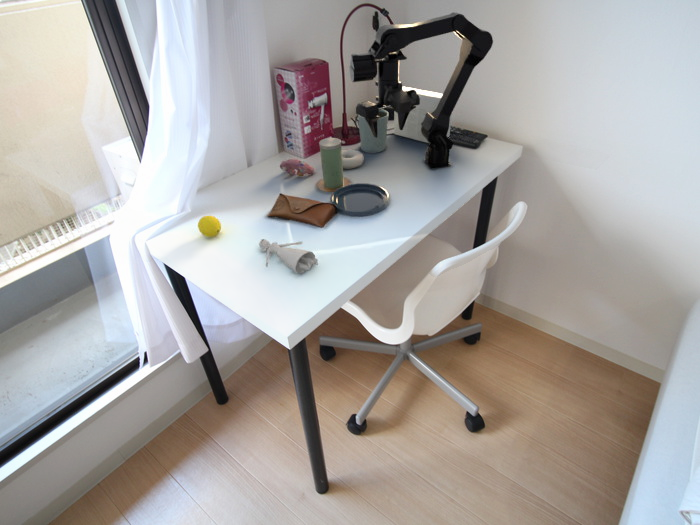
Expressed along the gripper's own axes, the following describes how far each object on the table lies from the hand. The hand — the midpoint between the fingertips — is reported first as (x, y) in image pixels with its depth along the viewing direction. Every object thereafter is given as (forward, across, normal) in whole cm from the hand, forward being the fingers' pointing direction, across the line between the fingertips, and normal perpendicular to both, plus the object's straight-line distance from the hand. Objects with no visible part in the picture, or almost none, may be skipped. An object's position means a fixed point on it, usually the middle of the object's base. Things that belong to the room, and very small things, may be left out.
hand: (388, 133), depth 128 cm
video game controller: (+12, -24, +15) cm, 31 cm away
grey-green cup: (+12, +6, +18) cm, 23 cm away
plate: (+12, -18, -12) cm, 24 cm away
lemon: (+12, -57, -3) cm, 59 cm away
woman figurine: (+12, -46, -24) cm, 53 cm away
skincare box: (+12, +24, +15) cm, 31 cm away
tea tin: (+11, -19, +2) cm, 22 cm away
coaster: (+12, -19, +2) cm, 22 cm away
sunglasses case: (+12, -34, -8) cm, 37 cm away
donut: (+12, -7, +12) cm, 19 cm away
